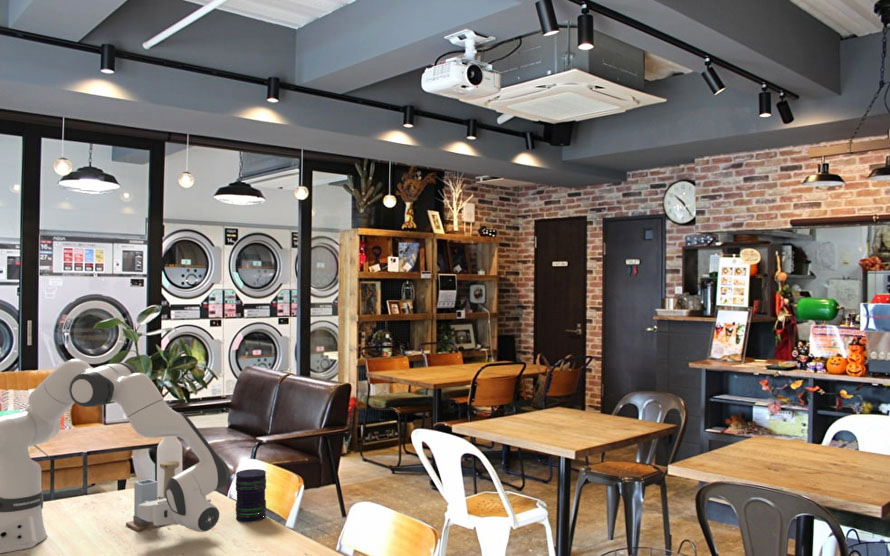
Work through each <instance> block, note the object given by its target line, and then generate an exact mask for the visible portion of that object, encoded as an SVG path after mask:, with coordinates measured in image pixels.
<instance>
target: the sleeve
mask: <svg viewBox="0 0 890 556" xmlns="http://www.w3.org/2000/svg"><path fill="white" fill-rule="evenodd" d="M133 495H134V497H133V499H134V500H133V501H134V504H133V505H134V511H133V512H134V513H133V514H134V515H133V520H132V521H133V522H134V523H136V524H138V525H141V526H144V525H148V524H152V523H153V522H148V521H145V520H143V519H141V518H139V517H138V515H137V507H138V505H139V504H142V503H144V501H155V500H158V496H157V480H154V479H152V478H151V479H150V478H148V479H144V480H139V481H138V480H137V481H134V493H133Z"/></svg>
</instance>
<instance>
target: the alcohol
mask: <svg viewBox="0 0 890 556" xmlns="http://www.w3.org/2000/svg"><path fill="white" fill-rule="evenodd" d="M161 439H162V440H160V441H159V443H158V445H157V449H156V481H157V498H159V499H164V475H165V471H164V469H162V468H161V467H160V463H162V462H168V461H176V462H179V466H178V467H177V468H176V469H175V475H177V474H179V473H180V472H182V471H183V445H182V442H181V441H180V439H178V437H177V436H165V437H162V438H161Z"/></svg>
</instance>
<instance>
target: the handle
mask: <svg viewBox="0 0 890 556" xmlns="http://www.w3.org/2000/svg"><path fill="white" fill-rule="evenodd" d="M178 466H179V462H176V461H168V462H162V463H160V467H161V468H162V469H164V471H165V475H164V498H166V496H165V491H166V486H167V483H168V480H169V479H170V478H172V477H173V476H175V469H176V468H177V467H178Z"/></svg>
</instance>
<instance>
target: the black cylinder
mask: <svg viewBox="0 0 890 556" xmlns="http://www.w3.org/2000/svg"><path fill="white" fill-rule="evenodd" d="M266 474H267V471H266V470H264V469H256V468H253V469H252V468H251V469H244V470H238V471H237V472H236V473H235V477H236V478H235V491H236V501H235V502H236V503H235V515H236V517H235V520H236V521H237V522H239V523H241V522H242V523H254V522H253V521H256V522H259V521H260V522H261V521H262V520H264V519H266V517H267V514H266V512H267V501H266V489H267V485H266V484H267V475H266ZM258 513H259V514H258ZM263 516H264V517H263Z"/></svg>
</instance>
